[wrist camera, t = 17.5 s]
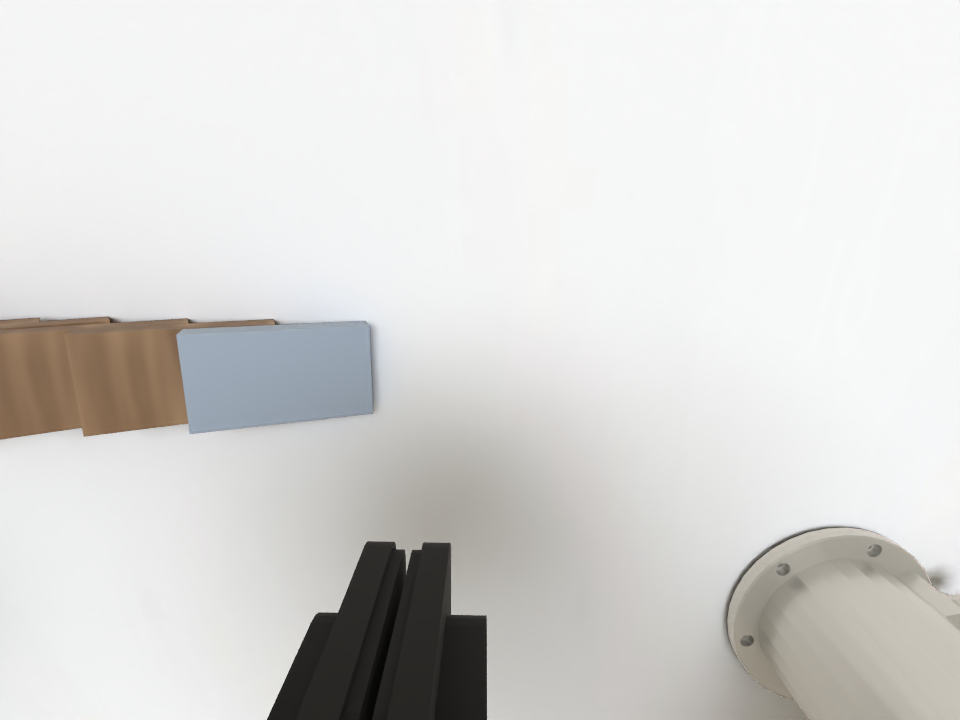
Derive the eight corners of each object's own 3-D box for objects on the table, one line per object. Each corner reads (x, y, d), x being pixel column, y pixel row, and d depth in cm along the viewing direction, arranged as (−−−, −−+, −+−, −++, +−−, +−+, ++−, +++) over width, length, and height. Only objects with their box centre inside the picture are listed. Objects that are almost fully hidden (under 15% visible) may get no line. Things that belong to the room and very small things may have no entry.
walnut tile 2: (188, 322, 26) (-45, 338, 22) (200, 410, 28) (-19, 442, 23) (187, 318, 28) (-33, 332, 23) (198, 402, 29) (-9, 430, 24)
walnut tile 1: (275, 323, 26) (64, 335, 22) (282, 411, 27) (84, 436, 24) (273, 319, 28) (74, 329, 24) (280, 402, 29) (92, 425, 25)
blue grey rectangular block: (369, 325, 26) (176, 335, 23) (373, 413, 27) (189, 433, 24) (364, 320, 28) (182, 329, 24) (368, 404, 29) (195, 422, 26)
